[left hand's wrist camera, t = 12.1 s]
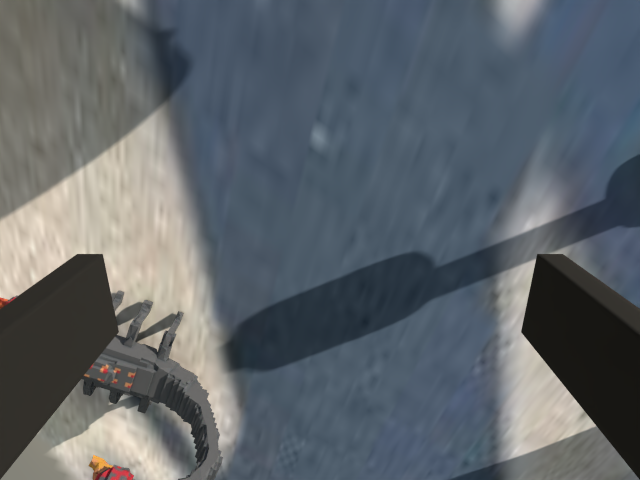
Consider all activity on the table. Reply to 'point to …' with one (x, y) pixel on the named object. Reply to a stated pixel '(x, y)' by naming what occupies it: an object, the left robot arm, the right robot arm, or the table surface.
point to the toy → (153, 391)
